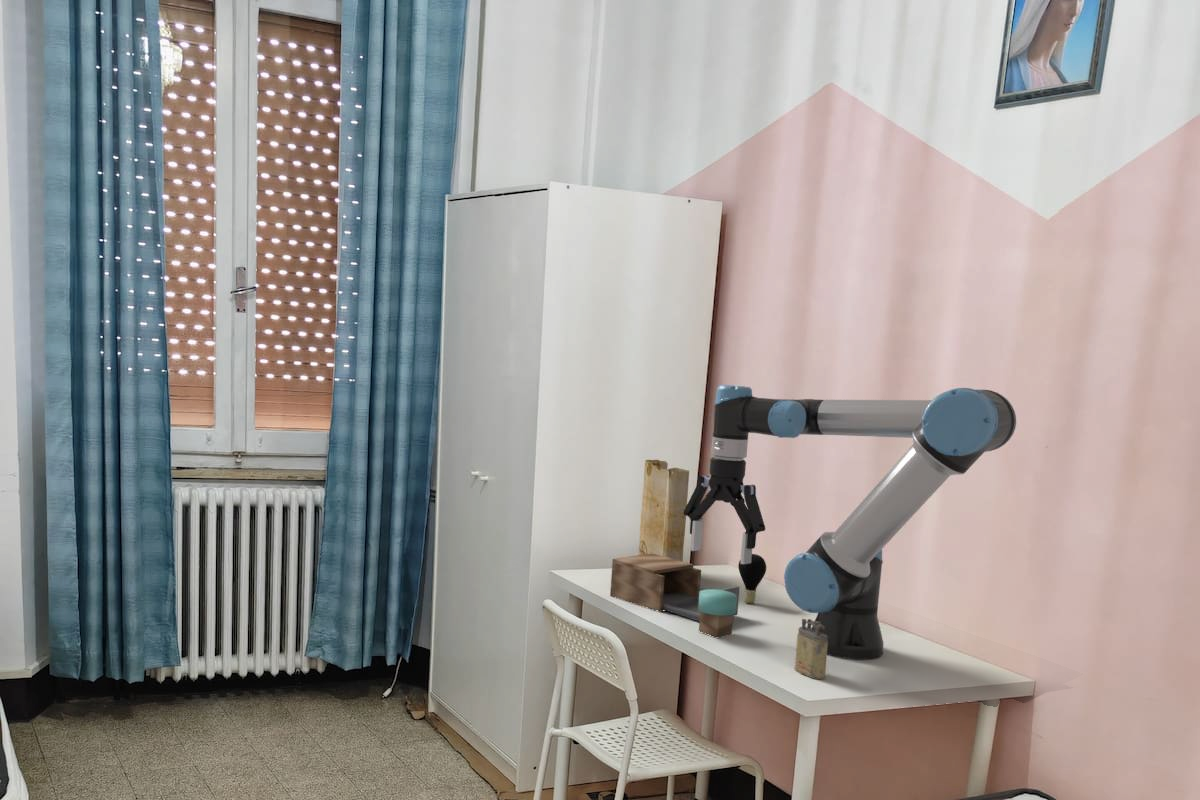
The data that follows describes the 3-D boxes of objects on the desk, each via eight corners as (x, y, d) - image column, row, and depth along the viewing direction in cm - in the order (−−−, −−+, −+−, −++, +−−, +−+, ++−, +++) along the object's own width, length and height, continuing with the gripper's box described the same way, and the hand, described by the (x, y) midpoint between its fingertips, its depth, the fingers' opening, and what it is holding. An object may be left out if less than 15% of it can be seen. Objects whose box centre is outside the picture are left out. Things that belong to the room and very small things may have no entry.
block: (731, 634, 209) (733, 611, 209) (716, 638, 206) (718, 614, 206) (713, 628, 213) (715, 605, 213) (698, 632, 209) (700, 609, 209)
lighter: (829, 678, 184) (833, 626, 184) (813, 680, 183) (817, 628, 182) (804, 666, 191) (808, 616, 190) (789, 668, 189) (793, 617, 188)
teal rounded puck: (743, 612, 209) (744, 596, 209) (719, 617, 203) (721, 600, 203) (714, 603, 215) (715, 587, 215) (690, 608, 209) (691, 592, 209)
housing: (698, 603, 233) (701, 566, 233) (659, 611, 224) (662, 573, 223) (649, 588, 245) (652, 553, 244) (610, 595, 235) (612, 558, 235)
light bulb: (755, 608, 233) (759, 558, 232) (730, 602, 237) (734, 553, 236) (768, 603, 238) (772, 555, 238) (743, 598, 242) (747, 550, 242)
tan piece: (634, 566, 269) (642, 458, 268) (656, 566, 271) (664, 459, 269) (659, 588, 247) (668, 469, 245) (682, 588, 248) (691, 470, 246)
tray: (737, 614, 224) (739, 586, 224) (702, 622, 215) (704, 593, 215) (678, 597, 237) (680, 570, 237) (643, 603, 228) (645, 576, 228)
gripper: (672, 450, 214) (665, 546, 215) (765, 466, 196) (756, 571, 197) (694, 449, 219) (687, 543, 220) (787, 465, 201) (778, 567, 202)
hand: (720, 556), depth 209 cm, fingers open, 13 cm apart
